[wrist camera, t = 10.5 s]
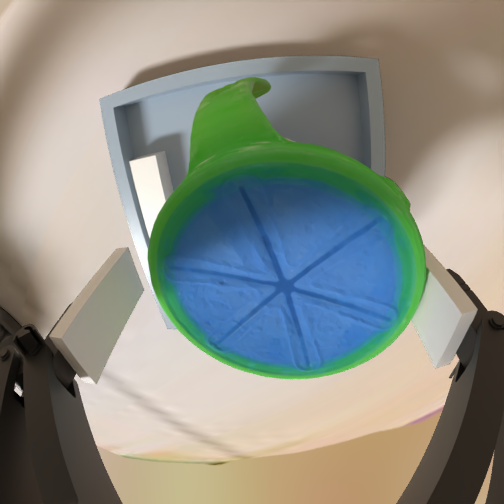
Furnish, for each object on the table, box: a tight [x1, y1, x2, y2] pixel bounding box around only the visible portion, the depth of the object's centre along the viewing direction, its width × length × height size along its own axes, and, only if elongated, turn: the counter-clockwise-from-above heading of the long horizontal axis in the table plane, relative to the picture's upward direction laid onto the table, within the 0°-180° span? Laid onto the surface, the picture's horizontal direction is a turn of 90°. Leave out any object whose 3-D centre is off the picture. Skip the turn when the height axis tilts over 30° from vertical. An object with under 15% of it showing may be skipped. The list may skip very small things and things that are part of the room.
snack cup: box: [147, 77, 426, 379], centre depth 14 cm, size 16×11×10 cm
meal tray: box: [100, 56, 385, 329], centre depth 19 cm, size 18×20×3 cm
